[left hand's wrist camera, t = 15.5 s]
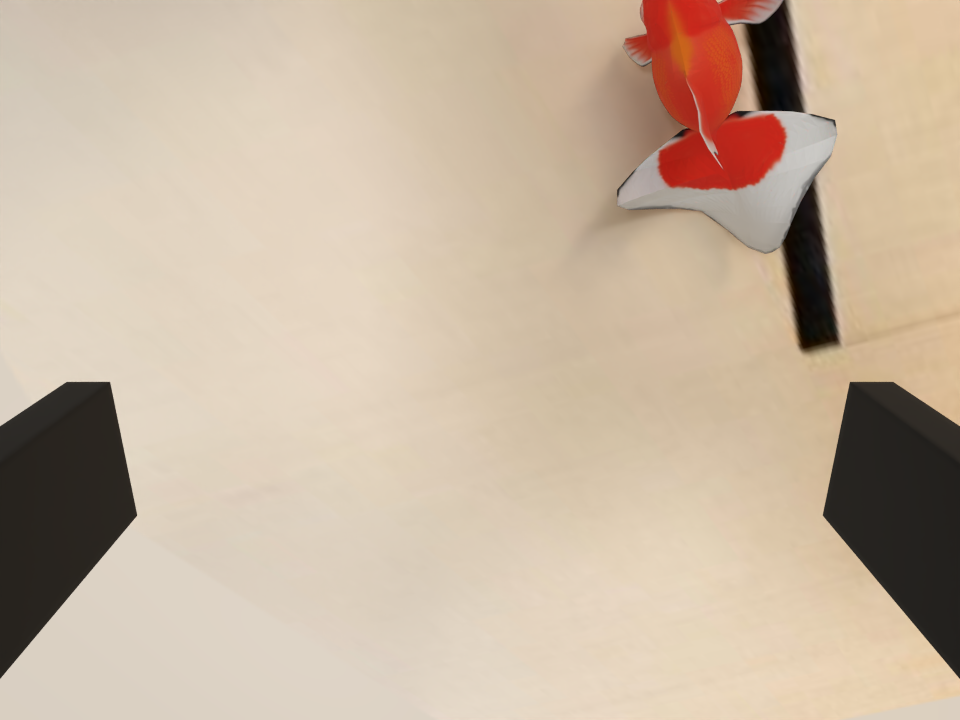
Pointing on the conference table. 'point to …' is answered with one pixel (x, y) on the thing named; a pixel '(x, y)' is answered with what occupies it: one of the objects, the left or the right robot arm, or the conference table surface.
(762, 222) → the fish
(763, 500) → the conference table surface
